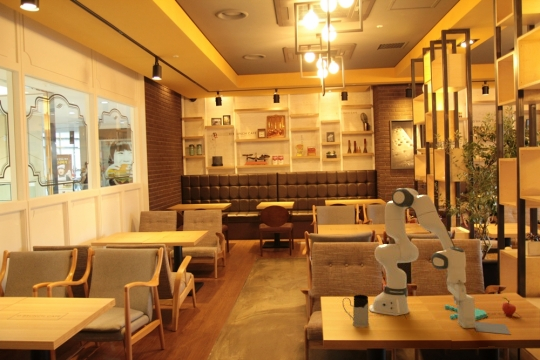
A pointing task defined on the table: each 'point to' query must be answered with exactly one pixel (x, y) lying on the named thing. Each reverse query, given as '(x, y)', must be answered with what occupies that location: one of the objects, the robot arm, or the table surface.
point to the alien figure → (478, 313)
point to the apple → (508, 308)
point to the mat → (491, 328)
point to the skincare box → (466, 312)
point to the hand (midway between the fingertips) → (456, 304)
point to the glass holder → (360, 311)
